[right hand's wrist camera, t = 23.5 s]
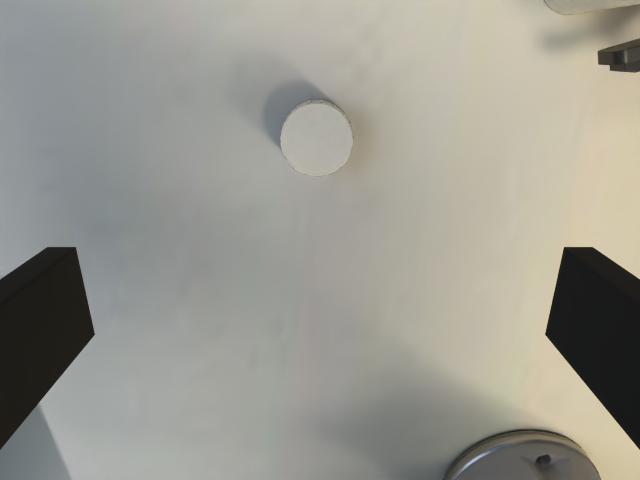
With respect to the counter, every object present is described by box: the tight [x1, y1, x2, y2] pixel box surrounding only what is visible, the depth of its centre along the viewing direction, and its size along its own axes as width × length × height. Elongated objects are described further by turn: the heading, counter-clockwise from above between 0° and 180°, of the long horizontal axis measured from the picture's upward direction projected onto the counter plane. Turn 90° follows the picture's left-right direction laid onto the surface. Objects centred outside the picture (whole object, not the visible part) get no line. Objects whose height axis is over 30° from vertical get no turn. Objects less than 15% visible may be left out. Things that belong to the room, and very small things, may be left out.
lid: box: [280, 99, 354, 176], centre depth 31 cm, size 5×5×2 cm
